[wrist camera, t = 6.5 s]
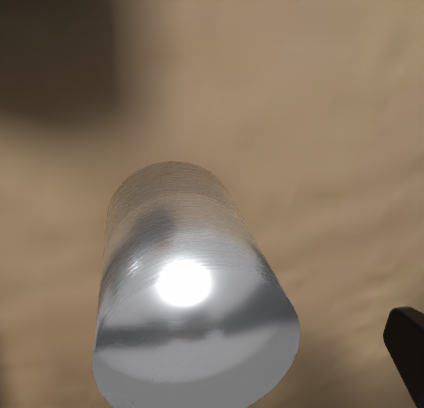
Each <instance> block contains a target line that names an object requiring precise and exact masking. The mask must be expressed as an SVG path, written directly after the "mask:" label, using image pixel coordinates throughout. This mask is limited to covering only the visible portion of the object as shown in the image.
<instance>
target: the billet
mask: <svg viewBox="0 0 424 408" xmlns="http://www.w3.org/2000/svg"><path fill="white" fill-rule="evenodd" d="M299 342H300V324H299V320H298V316H297V314H296V312H295V310H294V307H293V306H292V304H291V302H290V300H289V299H288V297H287V295H286V293H285V292H284V290H283V288H282V286H281V285H280V283H279V281H278V279H277V278H276V276H275V274H274V272H273V271H272V269H271V267H270V265H269V264H268V262H267V260H266V258H265V257H264V255H263V253H262V251H261V250H260V248H259V246H258V244H257V243H256V241H255V239H254V237H253V236H252V234H251V232H250V230H249V229H248V227H247V225H246V223H245V222H244V220H243V218H242V216H241V215H240V213H239V211H238V209H237V208H236V206H235V204H234V202H233V201H232V199H231V197H230V195H229V194H228V192H227V190H226V189H225V187H224V186H223V184H222V183H221V182H220V181H219V180H218V179H217V178H216V177H215V176H214V175H213V174H211V173H210V172H208V171H207V170H205V169H203V168H201V167H199V166H196V165H193V164H189V163H184V162H162V163H158V164H153V165H151V166H148V167H145V168H143V169H141V170H139V171H137V172H136V173H134V174H133V175H131V176H130V177H129V178H127V179H126V180H125V181H124V182H123V183H122V184H121V186H120V187H119V188H118V189H117V191H116V192H115V194H114V195H113V198H112V200H111V202H110V205H109V208H108V214H107V223H106V233H105V243H104V253H103V263H102V273H101V283H100V293H99V302H98V312H97V322H96V332H95V342H94V352H93V362H92V363H93V375H94V378H95V382H96V384H97V387H98V389H99V391H100V392H101V394H102V395H103V397H104V398H105V399H106V400H107V401H108V402H109V403H110V404H111V405H112V406H113V407H114V408H246V407H248V406H250V405H251V404H253V403H255V402H256V401H258V400H259V399H260V398H262V397H263V396H265V395H266V394H267V393H268V392H269V391H270V390H271V389H273V388H274V387H275V386H276V385H277V384H278V382H279V381H280V380H281V379H282V378H283V377H284V375H285V374H286V373H287V371H288V370H289V368H290V366H291V365H292V363H293V361H294V358H295V356H296V354H297V350H298V347H299Z"/></svg>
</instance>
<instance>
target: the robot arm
mask: <svg viewBox="0 0 424 408" xmlns="http://www.w3.org/2000/svg"><path fill="white" fill-rule="evenodd" d="M383 339H384V343H385V345H386V347H387V349H388V351H389V353H390V355H391V357H392V359H393V361H394V363H395V365H396V367H397V369H398V371H399V373H400V375H401V377H402V379H403V381H404V383H405V385H406V387H407V389H408V391H409V393H410V395H411V397H412V399H413V401H414V403H415V405H416V407H417V408H424V314H423V313H421V312H419V311H417V310H415V309H413V308H411V307H399V308H394V309H392V310H391V311H390V314H389V317H388V320H387V323H386V326H385V329H384V332H383Z"/></svg>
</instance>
